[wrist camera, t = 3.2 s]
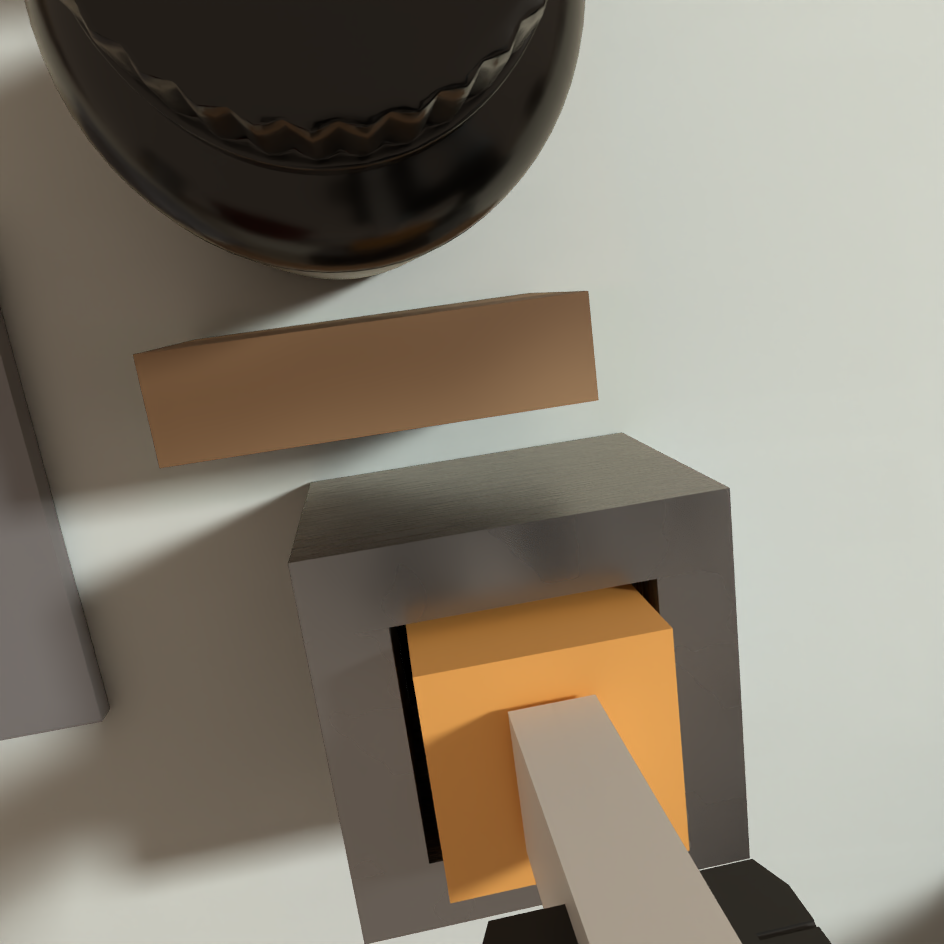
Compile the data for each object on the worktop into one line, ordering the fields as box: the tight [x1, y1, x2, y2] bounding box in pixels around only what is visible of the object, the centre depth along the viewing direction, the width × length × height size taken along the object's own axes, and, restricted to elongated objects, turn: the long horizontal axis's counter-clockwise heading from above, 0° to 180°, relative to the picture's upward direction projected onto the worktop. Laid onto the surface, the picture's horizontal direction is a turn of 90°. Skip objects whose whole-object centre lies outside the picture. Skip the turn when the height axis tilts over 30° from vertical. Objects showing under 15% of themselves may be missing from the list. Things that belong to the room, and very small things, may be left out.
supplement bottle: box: [24, 0, 585, 280], centre depth 11 cm, size 7×7×12 cm
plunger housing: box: [288, 433, 750, 944], centre depth 17 cm, size 8×8×6 cm
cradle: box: [133, 291, 598, 468], centre depth 15 cm, size 12×8×5 cm, turn 8°
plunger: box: [406, 584, 689, 903], centre depth 16 cm, size 4×4×6 cm
